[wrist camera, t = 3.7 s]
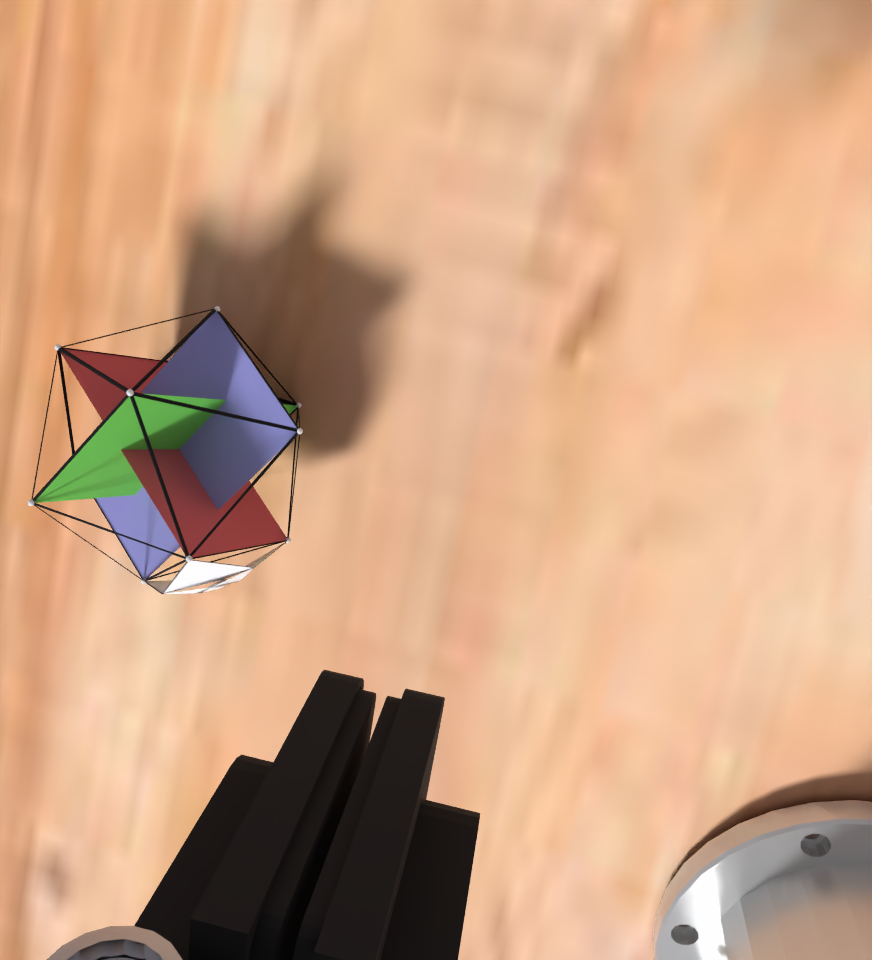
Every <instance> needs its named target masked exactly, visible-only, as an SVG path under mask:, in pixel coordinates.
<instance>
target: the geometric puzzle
mask: <svg viewBox="0 0 872 960" xmlns="http://www.w3.org/2000/svg"><path fill="white" fill-rule="evenodd" d="M210 310H212V311H211V312H210V313H209V314H208V315H207V316H206V317H205V318H204V319H203V320H202V321H201V322H200V323H199V324H198V325H197V326H195V327H194V328H193V329H192V330H191V331H190V332H189V333H188V334H187V335H186V336H185V337H184V338H183V339H182V340H181V341H180V342H179V343H178V344H177V345H176V346H175V347H174V348H173V349H172V350H171V351H170V352H169V353H168V354H167V355H166V356H165V357H164V358H163V359H162V360H154V359H146V358H139V357H131V356H124V355H116V354H108V353H101V352H93V351H86V350H78V349H70V348H63V347H66V346H70V345H74V344H78V343H82V342H86V341H90V340H94V339H98V338H102V337H106V336H110V335H114V334H118V333H122V332H126V331H130V330H134V329H138V328H142V327H146V326H150V325H154V324H158V323H162V322H166V321H170V320H174V319H178V318H182V317H186V316H190V315H194V314H198V313H202V312H206V311H210ZM210 310H206V311H202V312H198V313H194V314H190V315H186V316H182V317H178V318H174V319H170V320H166V321H162V322H158V323H154V324H150V325H146V326H142V327H138V328H134V329H130V330H126V331H122V332H118V333H114V334H110V335H106V336H102V337H98V338H94V339H90V340H86V341H82V342H78V343H74V344H70V345H66V346H62V347H61V346H60V345H59V344H57V345H55V349H56V350H57V354H58V358H59V365H60V372H61V379H62V386H63V393H64V400H65V407H66V413H67V420H68V427H69V434H70V441H71V448H72V456H71V457H70V458H69V459H68V460H67V462H66V463H65V464H64V465H63V466H62V467H61V468H60V469H59V471H58V472H57V473H56V474H55V475H54V476H53V477H52V478H51V479H50V481H49V482H48V483H47V484H46V485H45V486H44V487H43V488H42V489H41V491H40V492H39V493H38V494H37V495H36V496H35V497H34V498H33V494H34V488H35V482H36V476H37V471H38V465H39V459H40V453H41V447H42V442H43V436H44V430H45V424H46V418H47V413H46V418H45V424H44V430H43V436H42V442H41V447H40V453H39V459H38V465H37V471H36V476H35V482H34V488H33V494H32V499H30V500H29V501H28V505H30V506H33V505H34V506H36V507H37V506H39V507H42V508H44V509H47V510H50V511H53V512H56V513H58V514H61V515H64V516H67V517H70V518H72V519H75V520H78V521H81V522H84V523H86V524H89V525H92V526H95V527H97V528H100V529H103V530H106V531H109V532H111V533H114V534H115V535H116V536H117V538H118V540H119V541H120V543H121V545H122V546H123V548H124V550H125V551H126V553H127V555H128V556H129V558H130V560H131V561H132V563H133V565H134V566H135V568H136V570H137V571H138V573H139V575H140V576H141V578H142V579H141V578H140V579H141V582H142V584H146V583H147V584H148V585H150V586H151V587H153V588H154V589H155V590H157V591H158V592H160V593H161V594H164V593H166V594H191V593H198V592H199V593H203V592H202V591H204V592H207V591H211V590H215V589H219V588H222V587H224V586H222V585H226V584H229V583H233V582H236V581H240V580H242V579H243V578H244V577H245V576H246V575H247V574H248V573H249V572H250V571H251V570H252V569H253V568H255V567H256V566H257V565H258V564H260V563H261V562H262V561H263V560H265V559H266V558H267V557H268V556H270V555H271V554H272V553H273V552H275V551H276V550H277V549H278V548H280V547H281V546H282V545H283V544H285V543H286V542H287V543H289V542H290V541H291V539H290V538H289V531H290V521H291V512H292V505H291V501H292V503H293V496H292V487H293V474H294V461H295V448H296V436H297V435H298V434H299V439H300V434H302V433H303V430H302V429H301V428H300V417H299V408H300V407H301V404H300V403H296V402H295V401H294V399H293V398H292V397H291V396H290V395H289V394H288V392H287V391H286V390H285V389H284V388H283V386H282V385H281V384H280V383H279V382H278V380H277V379H276V378H275V377H274V376H273V375H272V373H271V372H270V371H269V370H268V369H267V367H266V366H265V365H264V364H263V363H262V361H261V360H260V359H259V358H258V357H257V356H256V354H255V353H254V352H253V351H252V350H251V348H250V347H249V346H248V345H247V344H246V342H245V341H244V340H243V339H242V338H241V336H240V335H239V334H238V333H237V332H236V331H235V329H234V328H233V327H232V326H231V325H230V323H229V322H228V321H227V320H226V319H225V317H224V316H223V315H222V314H221V313H220V312H219V311H220V307H219V306H216V307H215V308H214V309H210ZM227 323H228V324H227ZM229 326H230V327H231V328H232V329H233V331H234V332H235V333H236V334H237V335H238V336H239V338H240V339H241V340H242V341H243V342H244V344H245V345H246V346H247V347H248V348H249V349H250V351H251V352H252V353H253V354H254V355H255V357H256V358H257V359H258V360H259V361H260V363H261V364H262V365H263V366H264V367H265V368H266V370H267V371H268V372H269V373H270V374H271V376H272V377H273V378H274V379H275V380H276V381H277V383H278V384H279V385H280V386H281V387H282V389H283V390H284V391H285V392H286V393H287V394H288V396H289V397H290V398H291V399H292V400H293V402H294V403H293V402H290V401H287V400H284V399H281V398H278V397H277V395H276V394H275V392H274V391H273V389H272V388H271V387H270V385H269V384H268V382H267V381H266V379H265V378H264V376H263V375H262V373H261V372H260V370H259V369H258V368H257V366H256V365H255V363H254V362H253V360H252V359H251V357H250V356H249V354H248V353H247V351H246V350H245V349H244V347H243V346H242V344H241V343H240V341H239V340H238V338H237V337H236V335H235V334H234V332H233V331H232V330H231V328H230V327H229ZM192 334H193V335H192ZM191 335H192V336H191ZM190 336H191V337H190ZM189 337H190V338H189ZM188 338H189V339H188ZM187 339H188V340H187ZM186 340H187V341H186ZM185 341H186V342H185ZM184 342H185V343H184ZM183 343H184V345H183V346H182V347H181V348H180V349H179V350H178V351H177V352H176V353H175V354H174V356H173V357H172V358H171V359H170V360H169V361H166V360H167V359H168V358H169V357H170V356H171V355H172V354H173V353H174V352H175V351H176V350H177V349H178V348H179V347H180V346H181V345H182V344H183ZM61 354H62V355H63V357H64V359H65V360H66V362H67V363H68V365H69V367H70V368H71V370H72V372H73V373H74V375H75V376H76V378H77V380H78V381H79V383H80V385H81V386H82V388H83V389H84V391H85V393H86V394H87V396H88V398H89V399H90V401H91V402H92V404H93V406H94V407H95V409H96V411H97V412H98V414H99V415H100V417H101V419H102V420H103V421H102V423H101V424H100V425H99V426H98V427H97V428H96V429H95V430H94V431H93V433H92V434H91V435H90V436H89V437H88V438H87V439H86V440H85V441H84V443H83V444H82V445H81V446H80V447H79V448H78V449H77V450H76V452H75V450H74V443H73V436H72V429H71V422H70V414H69V407H68V400H67V393H66V386H65V379H64V372H63V365H62V358H61ZM56 360H57V355H56ZM56 360H55V366H56ZM55 366H54V372H55ZM54 372H53V378H54ZM53 378H52V383H53ZM51 389H52V384H51ZM51 389H50V395H51ZM50 395H49V401H50ZM49 401H48V407H49ZM281 402H283V403H286V404H289V405H284V404H282V403H281ZM48 407H47V412H48ZM296 409H297V419H296V423H295V422H294V420H293V419H292V417H291V416H290V415H291V414H292V413H293V412H294V411H295V410H296ZM298 419H299V427H298V426H297V422H298ZM294 438H295V445H294V458H293V471H292V484H291V497H290V510H289V523H288V536H287V537H286V536H285V535H284V533H283V532H282V530H281V528H280V527H279V525H278V524H277V522H276V521H275V519H274V518H273V516H272V515H271V513H270V512H269V510H268V509H267V507H266V506H265V504H264V503H263V501H262V499H261V498H260V496H259V495H258V493H257V492H256V490H255V489H254V487H253V486H254V485H255V483H256V482H257V481H258V480H259V479H260V478H261V476H262V475H263V474H264V473H265V472H266V471H267V470H268V468H269V467H270V466H271V465H272V464H273V463H274V462H275V460H276V459H277V458H278V457H279V456H280V455H281V453H282V452H283V451H284V450H285V449H286V448H287V447H288V445H289V444H290V443H291V442H292V441H293V440H294ZM298 448H299V441H298ZM279 451H280V452H279ZM278 452H279V453H278ZM277 453H278V454H277ZM276 454H277V455H276ZM275 455H276V456H275ZM274 456H275V457H274ZM273 457H274V458H273ZM272 458H273V460H272V461H271V462H270V463H269V464H268V465H267V467H266V468H265V469H264V470H263V471H262V472H261V473H260V475H259V476H258V477H257V478H256V479H255V480H254V481H253V483H252V484H251V483H250V481H249V480H250V479H251V478H252V477H253V476H254V475H255V474H256V473H257V472H258V471H259V470H260V469H261V468H262V467H263V466H264V465H265V464H266V463H267V462H268V461H270V460H271V459H272ZM297 458H298V450H297ZM296 467H297V459H296ZM295 476H296V468H295ZM294 485H295V478H294ZM293 494H294V487H293ZM91 498H94V499H95V501H96V503H97V504H98V506H99V508H100V509H101V511H102V513H103V514H104V516H105V518H106V519H107V521H108V523H109V525H110V526H111V528H112V530H113V531H112V530H109V529H106V528H103V527H100V526H98V525H95V524H92V523H89V522H86V521H84V520H81V519H78V518H75V517H73V516H70V515H67V514H64V513H61V512H59V511H56V510H53V509H50V508H47V507H45V506H42V505H39V504H36V503H39V502H52V501H65V500H78V499H91ZM37 508H38V507H37ZM39 509H40V508H39ZM40 510H41V509H40ZM42 511H43V510H42ZM43 512H44V511H43ZM44 513H46V512H44ZM46 514H47V513H46ZM47 515H49V514H47ZM49 516H50V515H49ZM50 517H51V516H50ZM52 518H53V517H52ZM53 519H54V518H53ZM55 520H56V519H55ZM56 521H57V520H56ZM57 522H59V521H57ZM59 523H60V522H59ZM60 524H62V523H60ZM62 525H63V524H62ZM63 526H64V525H63ZM65 527H66V526H65ZM66 528H67V527H66ZM68 529H69V528H68ZM69 530H70V529H69ZM70 531H72V530H70ZM72 532H73V531H72ZM73 533H75V532H73ZM75 534H76V533H75ZM76 535H77V534H76ZM78 536H79V535H78ZM79 537H80V536H79ZM81 538H82V537H81ZM82 539H83V538H82ZM83 540H85V539H83ZM85 541H86V540H85ZM285 541H286V542H285ZM86 542H88V541H86ZM282 542H285V543H283V544H282V545H280V546H278V547H277V548H275V549H273V550H272V551H270V552H268V553H267V554H265V555H263V556H262V557H260V558H258V559H257V560H255V561H253V562H252V563H250V564H248V565H247V566H238V565H230V564H221V563H213V562H214V561H218V560H222V559H225V558H229V557H232V556H236V555H239V554H243V553H246V552H250V551H253V550H257V549H260V548H264V547H267V546H271V545H274V544H278V543H282ZM88 543H89V542H88ZM89 544H90V543H89ZM269 544H271V545H269ZM91 545H92V544H91ZM264 545H267V546H264ZM92 546H93V545H92ZM258 546H264V547H260V548H257V549H253V550H250V551H246V552H242V553H239V554H235V555H232V556H228V557H225V558H221V559H218V560H214V561H211V562H205V561H196V560H192V559H195V558H201V557H206V556H211V555H216V554H222V553H227V552H232V551H237V550H243V549H248V548H253V547H258ZM94 547H95V546H94ZM179 547H181V548H182V550H183V552H184V553H185V556H186V557H184V556H181V555H179V554H176V553H174V552H175V551H176V550H177V549H178V548H179ZM95 548H96V547H95ZM96 549H98V548H96ZM98 550H99V549H98ZM99 551H101V550H99ZM101 552H102V551H101ZM102 553H103V552H102ZM104 554H105V553H104ZM172 554H173V555H176V556H178V557H181V558H184V559H185V560H183V561H181V562H179V563H177V564H175V565H173V566H171V567H169V568H167V569H165V570H163V571H161V572H159V573H157V574H155V575H153V576H151V577H149V576H150V575H151V574H152V573H153V572H154V571H155V570H156V569H158V568H159V567H160V566H161V565H162V564H163V563H164V562H165V561H166V560H167V559H168V558H169V557H170V556H171V555H172ZM105 555H106V554H105ZM107 556H108V555H107ZM108 557H109V556H108ZM109 558H111V557H109ZM111 559H112V558H111ZM112 560H114V559H112ZM114 561H115V560H114ZM186 561H187V562H186ZM115 562H116V561H115ZM184 562H186V563H185V565H184V566H183V567H182V568H181V570H179V571H175V572H172V573H176V572H178V574H177V575H176V576H175V578H174V579H173V580H172V581H147V580H151V579H154V578H158V577H162V576H165V575H169V574H172V573H168V574H165V575H161V576H158V577H155V576H157V575H159V574H161V573H163V572H165V571H167V570H169V569H171V568H173V567H175V566H178V565H180V564H182V563H184ZM117 563H118V562H117ZM118 564H119V563H118ZM120 565H121V564H120ZM121 566H122V565H121ZM122 567H124V566H122ZM124 568H125V567H124ZM125 569H126V568H125ZM249 569H250V570H249ZM127 570H128V569H127ZM247 570H248V571H247ZM128 571H129V570H128ZM244 571H246V572H244ZM130 572H131V571H130ZM241 572H244V573H241ZM131 573H132V572H131ZM239 573H241V574H239ZM133 574H134V573H133ZM236 574H239V575H237V576H235V577H233V578H230V579H228V580H224V579H226V578H228V577H231V576H234V575H236ZM134 575H135V574H134ZM136 576H137V575H136ZM137 577H138V576H137ZM153 577H154V578H153ZM138 578H139V577H138ZM219 580H221V581H219ZM215 581H219V582H217V583H215V584H213V585H211V586H209V587H207V588H204V589H197V590H189V591H181V592H173V593H168V592H172V591H177V590H181V589H185V588H189V587H193V586H198V585H202V584H206V583H210V582H215ZM219 586H220V587H219ZM205 590H206V591H205Z"/></svg>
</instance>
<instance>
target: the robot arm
mask: <svg viewBox="0 0 872 960" xmlns="http://www.w3.org/2000/svg"><path fill="white" fill-rule="evenodd" d="M363 687H364V680H363V679H362V678H358V677H353V676H349V675H345V674H340V673H336V672H332V671H327V670H324V671H322V673H321V674H320V676H319V678H318V680H317V682H316V684H315V685H314V687H313V689H312V691H311V693H310V695H309V697H308V699H307V700H306V702H305V704H304V706H303V708H302V710H301V712H300V714H299V716H298V717H297V719H296V721H295V723H294V725H293V727H292V729H291V731H290V732H289V734H288V736H287V738H286V740H285V742H284V744H283V746H282V748H281V749H280V751H279V753H278V755H277V757H276V759H275V761H274V763H273V762H269V761H265V760H261V759H257V758H253V757H249V756H245V755H240V756H239V757H237V758H236V760H235V761H234V762H233V764H232V765H231V766H230V768H229V770H228V771H227V773H226V775H225V776H224V778H223V780H222V781H221V783H220V785H219V786H218V788H217V790H216V791H215V793H214V795H213V796H212V798H211V800H210V801H209V803H208V805H207V806H206V808H205V810H204V811H203V813H202V815H201V816H200V818H199V820H198V821H197V823H196V824H195V826H194V828H193V829H192V831H191V833H190V834H189V836H188V838H187V839H186V841H185V843H184V844H183V846H182V848H181V849H180V851H179V853H178V854H177V856H176V858H175V859H174V861H173V863H172V864H171V866H170V868H169V869H168V871H167V873H166V874H165V876H164V878H163V879H162V881H161V883H160V884H159V886H158V888H157V889H156V891H155V892H154V894H153V896H152V897H151V899H150V901H149V902H148V904H147V906H146V907H145V909H144V911H143V912H142V914H141V916H140V917H139V919H138V921H137V922H136V924H135V926H110V927H106V928H102V929H99V930H95V931H92V932H88V933H85V934H83V935H81V936H79V937H78V938H76V939H74V940H72V941H70V942H68V943H67V944H65V945H63V946H61V947H60V948H59V949H58V950H57V951H56V952H55V953H54V954H52V955H51V956H50V957H49V958H48V959H47V960H458V954H459V948H460V942H461V935H462V929H463V922H464V916H465V909H466V903H467V897H468V890H469V884H470V877H471V871H472V864H473V858H474V852H475V845H476V839H477V832H478V826H479V819H480V813H477V812H473V811H469V810H465V809H461V808H457V807H452V806H448V805H444V804H440V803H436V802H432V801H428V800H426V797H427V791H428V786H429V781H430V775H431V770H432V765H433V759H434V754H435V749H436V744H437V738H438V733H439V728H440V722H441V717H442V712H443V706H444V700H445V698H444V697H440V696H435V695H431V694H427V693H422V692H418V691H414V690H409V689H405V691H404V693H403V696H402V699H399V698H395V697H391V696H387V698H386V700H385V703H384V706H383V708H382V711H381V714H380V716H379V719H378V722H377V724H376V727H375V730H374V732H373V735H372V738H371V740H370V735H371V728H372V721H373V715H374V708H375V701H376V693H373V692H369V691H365V690H363ZM369 741H370V743H369ZM653 948H654V960H872V802H870V801H859V800H845V801H828V802H812V803H807V804H802V805H797V806H793V807H788V808H783V809H778V810H774V811H771V812H768V813H766V814H763V815H760V816H758V817H755V818H752V819H750V820H747V821H745V822H742V823H739V824H737V825H735V826H734V827H732V828H730V829H729V830H727V831H725V832H724V833H722V834H720V835H719V836H717V837H715V838H714V839H712V840H710V841H709V842H707V843H706V844H705V845H704V846H703V847H702V848H701V849H699V850H698V851H697V852H696V853H695V854H694V855H693V856H692V857H690V858H689V859H688V860H687V861H686V862H685V863H684V864H683V865H682V867H681V868H680V870H679V871H678V872H677V874H676V875H675V876H674V878H673V879H672V881H671V882H670V883H669V885H668V886H667V888H666V890H665V893H664V895H663V898H662V900H661V902H660V905H659V907H658V910H657V912H656V918H655V926H654V933H653Z"/></svg>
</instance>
